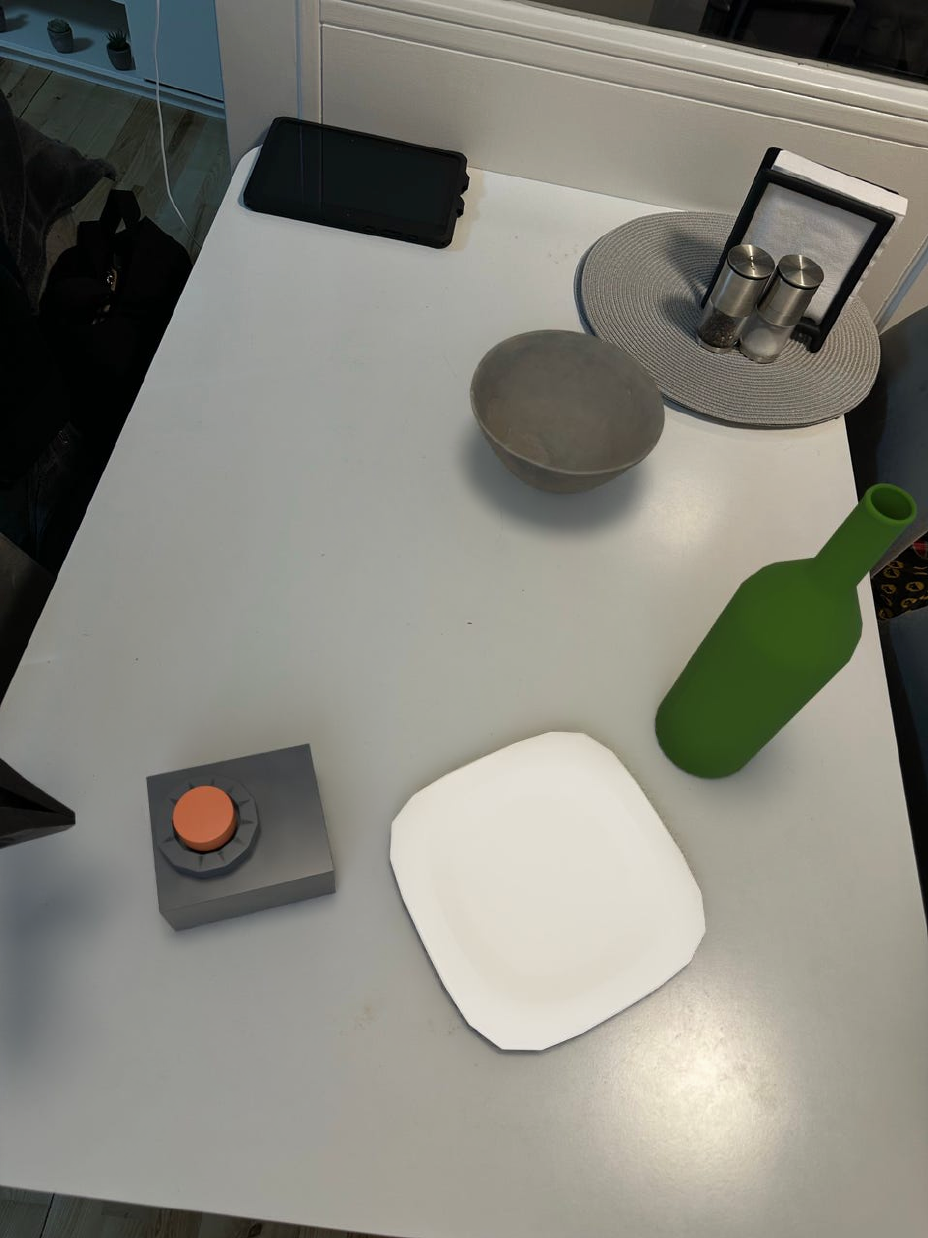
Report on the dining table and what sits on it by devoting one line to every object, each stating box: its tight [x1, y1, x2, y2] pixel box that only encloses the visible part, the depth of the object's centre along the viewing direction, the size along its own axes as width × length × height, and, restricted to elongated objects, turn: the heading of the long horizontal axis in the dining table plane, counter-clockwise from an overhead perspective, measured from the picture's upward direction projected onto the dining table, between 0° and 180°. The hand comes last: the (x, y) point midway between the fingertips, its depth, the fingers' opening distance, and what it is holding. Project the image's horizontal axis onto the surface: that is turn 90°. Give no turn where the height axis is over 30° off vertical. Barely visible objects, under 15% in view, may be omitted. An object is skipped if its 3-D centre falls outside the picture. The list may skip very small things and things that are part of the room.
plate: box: [389, 731, 707, 1051], centre depth 69 cm, size 22×22×2 cm
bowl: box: [469, 328, 666, 495], centre depth 88 cm, size 19×19×10 cm
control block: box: [145, 743, 337, 933], centre depth 65 cm, size 12×10×8 cm
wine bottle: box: [655, 483, 918, 780], centre depth 64 cm, size 9×9×32 cm
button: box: [173, 786, 237, 851], centre depth 61 cm, size 4×4×2 cm
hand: (71, 821), depth 55 cm, fingers closed
